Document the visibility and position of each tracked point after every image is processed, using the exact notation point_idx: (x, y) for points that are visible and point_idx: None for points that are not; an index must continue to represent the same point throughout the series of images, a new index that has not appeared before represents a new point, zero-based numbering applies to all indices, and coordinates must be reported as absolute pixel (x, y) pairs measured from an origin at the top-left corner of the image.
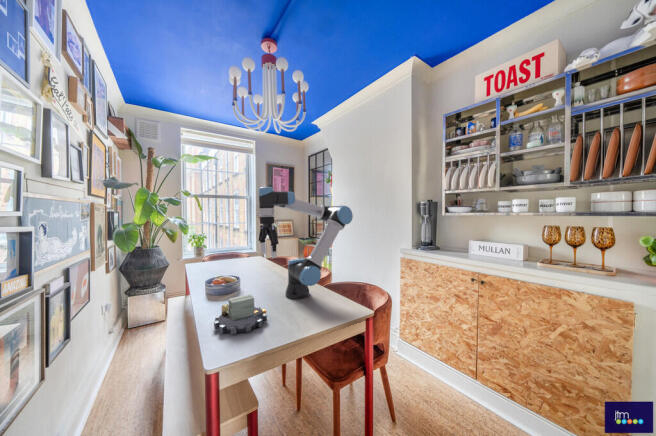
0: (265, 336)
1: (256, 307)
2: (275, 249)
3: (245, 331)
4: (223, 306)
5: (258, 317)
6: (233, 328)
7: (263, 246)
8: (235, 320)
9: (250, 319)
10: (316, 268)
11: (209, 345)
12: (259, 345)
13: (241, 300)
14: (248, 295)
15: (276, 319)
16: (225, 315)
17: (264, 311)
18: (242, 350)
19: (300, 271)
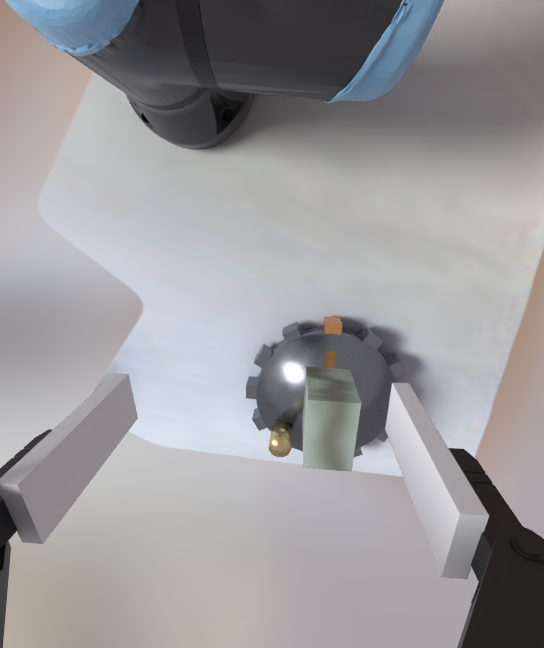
0: (444, 362)
1: (295, 341)
2: (482, 482)
3: None
4: (283, 453)
5: (379, 366)
6: (387, 435)
7: (76, 463)
8: None
9: (374, 389)
10: None
11: (378, 466)
12: (472, 390)
13: (352, 443)
14: (318, 409)
15: (372, 291)
16: (293, 431)
17: (341, 329)
18: (459, 424)
19: (338, 66)
